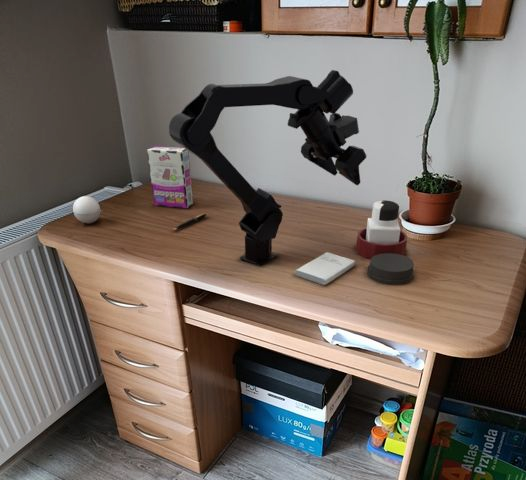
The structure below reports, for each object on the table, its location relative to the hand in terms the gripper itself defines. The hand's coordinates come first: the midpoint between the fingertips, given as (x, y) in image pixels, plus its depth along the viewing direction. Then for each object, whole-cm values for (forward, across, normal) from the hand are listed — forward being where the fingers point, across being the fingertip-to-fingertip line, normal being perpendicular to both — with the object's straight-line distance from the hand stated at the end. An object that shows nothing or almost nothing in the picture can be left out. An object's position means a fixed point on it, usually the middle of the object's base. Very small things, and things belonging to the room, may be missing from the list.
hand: (346, 178), depth 125 cm
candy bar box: (-5, +47, +32) cm, 57 cm away
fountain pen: (-6, +29, +34) cm, 45 cm away
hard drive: (+4, -14, +21) cm, 25 cm away
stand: (+10, -22, +12) cm, 27 cm away
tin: (+14, -11, +6) cm, 19 cm away
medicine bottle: (+14, -11, +6) cm, 19 cm away
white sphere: (-20, +44, +52) cm, 71 cm away
